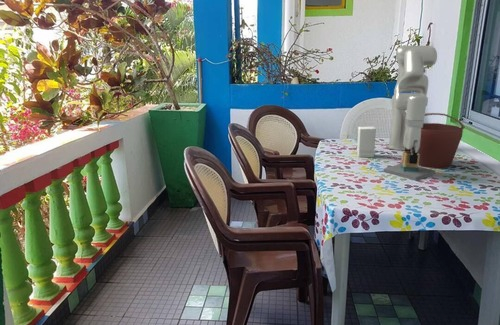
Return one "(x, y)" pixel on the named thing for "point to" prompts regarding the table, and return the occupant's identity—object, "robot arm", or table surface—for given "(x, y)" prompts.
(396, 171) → the pin board
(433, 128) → the bucket
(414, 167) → the wooden sleeve
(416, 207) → the table surface
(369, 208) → the table surface
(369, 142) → the skincare box
